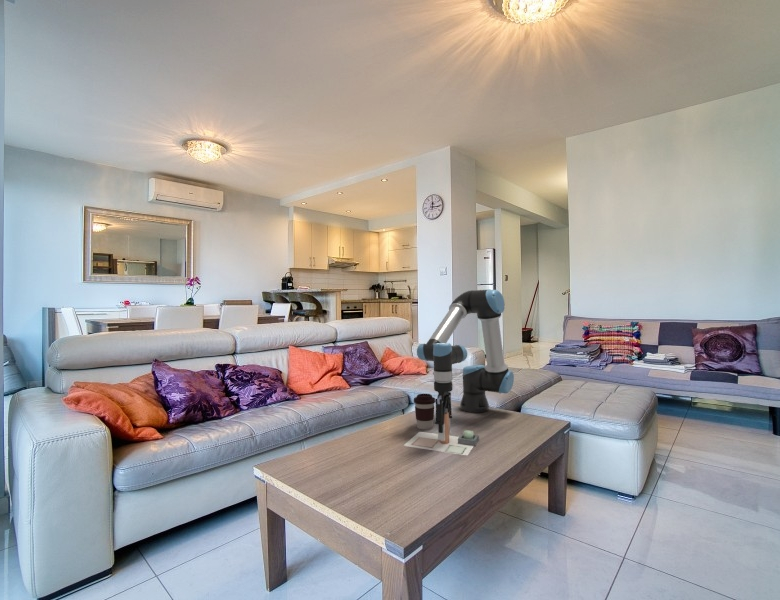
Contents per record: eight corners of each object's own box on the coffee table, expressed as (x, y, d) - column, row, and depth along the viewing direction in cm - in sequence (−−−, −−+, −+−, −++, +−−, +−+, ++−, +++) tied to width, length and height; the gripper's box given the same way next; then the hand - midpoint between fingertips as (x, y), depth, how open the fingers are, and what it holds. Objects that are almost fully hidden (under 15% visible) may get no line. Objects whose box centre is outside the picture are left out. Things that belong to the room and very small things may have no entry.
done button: (464, 437, 157) (464, 429, 157) (474, 438, 155) (474, 431, 156) (462, 440, 154) (462, 432, 154) (472, 442, 152) (472, 434, 152)
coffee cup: (435, 424, 179) (434, 392, 179) (436, 431, 169) (435, 397, 169) (414, 424, 180) (413, 392, 180) (413, 431, 170) (413, 397, 170)
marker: (441, 439, 157) (440, 407, 158) (450, 441, 156) (449, 407, 156) (438, 442, 154) (437, 409, 154) (447, 444, 152) (447, 410, 152)
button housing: (462, 437, 159) (462, 433, 159) (479, 440, 156) (478, 435, 156) (457, 443, 153) (457, 438, 153) (475, 445, 150) (475, 440, 150)
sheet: (419, 432, 168) (419, 431, 168) (478, 440, 157) (478, 439, 157) (403, 446, 152) (403, 445, 152) (467, 456, 141) (467, 455, 141)
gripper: (441, 376, 166) (442, 428, 165) (426, 385, 148) (427, 444, 148) (458, 377, 162) (459, 430, 162) (444, 386, 145) (446, 446, 144)
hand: (444, 437), depth 155 cm, fingers open, 7 cm apart
